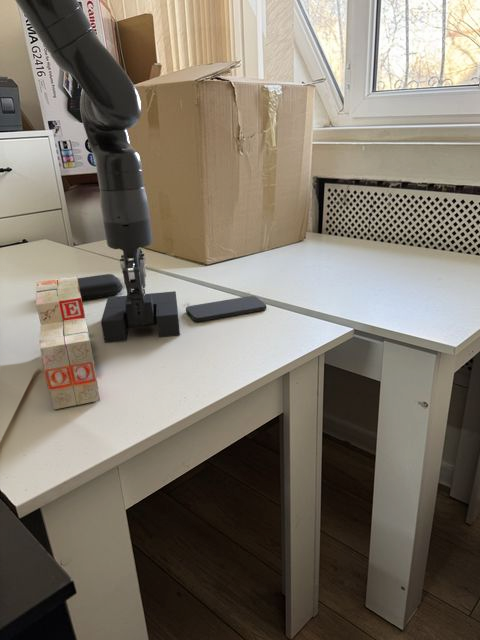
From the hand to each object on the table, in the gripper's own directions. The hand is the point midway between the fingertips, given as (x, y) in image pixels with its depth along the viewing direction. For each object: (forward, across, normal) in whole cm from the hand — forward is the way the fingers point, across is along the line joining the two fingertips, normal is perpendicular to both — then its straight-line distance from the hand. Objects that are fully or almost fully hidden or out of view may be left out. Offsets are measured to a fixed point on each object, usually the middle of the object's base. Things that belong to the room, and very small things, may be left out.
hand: (140, 313), depth 90 cm
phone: (+4, -7, +16) cm, 18 cm away
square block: (+1, 0, 0) cm, 1 cm away
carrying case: (+4, -26, -13) cm, 29 cm away
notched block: (+4, -3, 0) cm, 5 cm away
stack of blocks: (+4, +14, -10) cm, 18 cm away
